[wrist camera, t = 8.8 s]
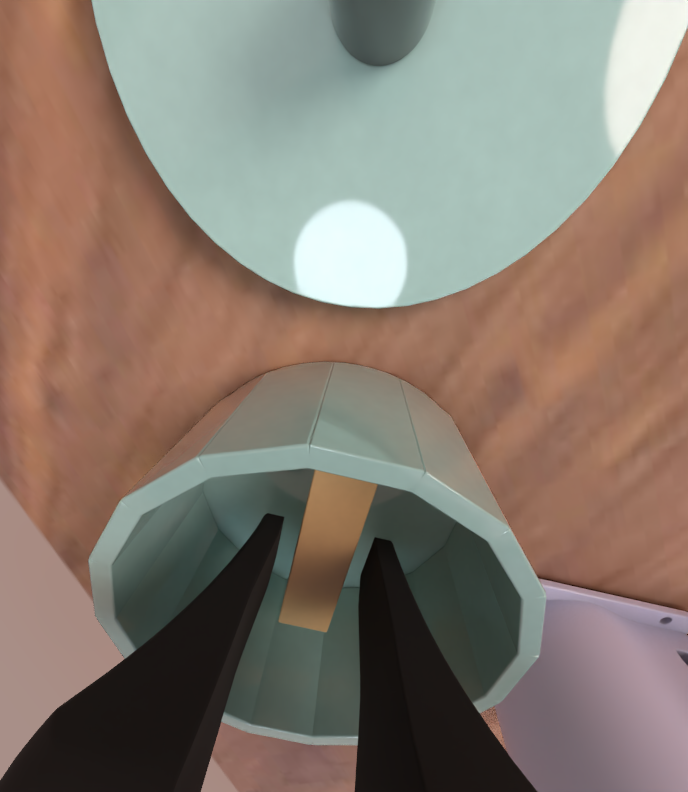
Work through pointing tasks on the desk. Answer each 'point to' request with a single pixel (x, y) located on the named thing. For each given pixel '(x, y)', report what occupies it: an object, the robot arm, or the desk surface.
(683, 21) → the lid
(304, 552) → the tan wooden block
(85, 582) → the desk surface
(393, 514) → the pot
